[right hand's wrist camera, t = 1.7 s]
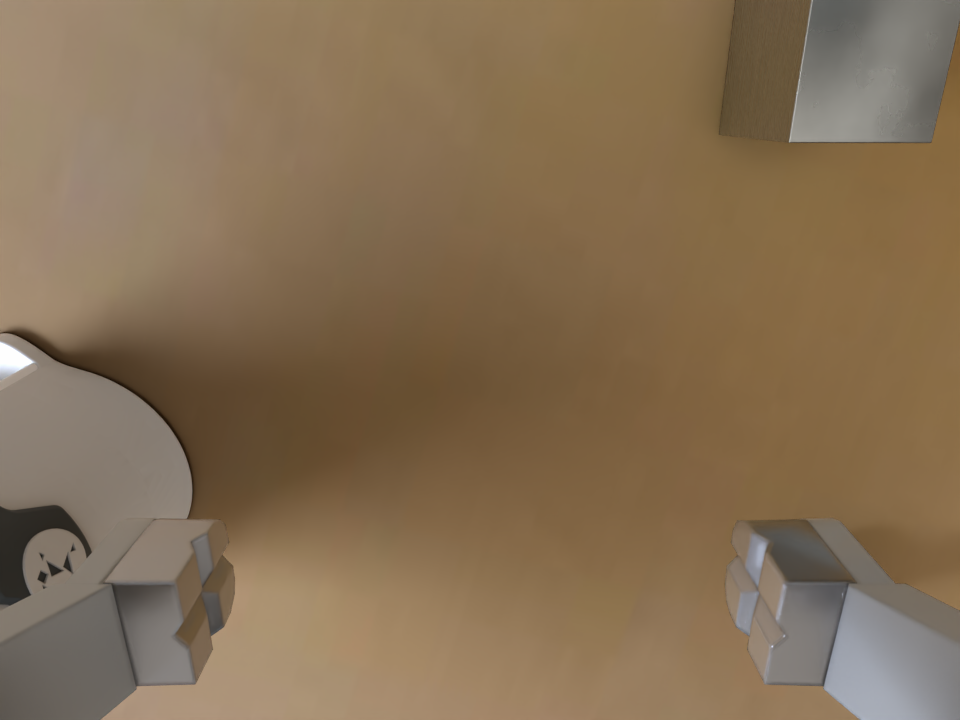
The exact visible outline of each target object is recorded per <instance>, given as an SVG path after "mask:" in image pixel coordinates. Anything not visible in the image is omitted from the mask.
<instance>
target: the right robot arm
mask: <svg viewBox="0 0 960 720" xmlns="http://www.w3.org/2000/svg"><path fill="white" fill-rule="evenodd" d="M191 502H192V478H191V473H190V468H189V465H188V461H187V459H186V456H185V453H184V451H183V449H182V447H181V445H180V443H179V441H178V440H177V438H176V436H175V435H174V433H173V432H172V430H171V429H170V427H169V426H168V425H167V424H166V422H165V421H164V420H163V419H162V418H161V417H160V416H159V415H158V413H157V412H156V411H154V410H153V409H152V408H151V407H150V406H149V405H148V404H147V403H146V402H144V401H143V400H142V399H140V398H139V397H138V396H136V395H135V394H134V393H132V392H131V391H129V390H127V389H126V388H124V387H122V386H121V385H119V384H117V383H115V382H113V381H111V380H109V379H106V378H104V377H102V376H99V375H96V374H93V373H90V372H87V371H84V370H80V369H77V368H73V367H70V366H67V365H64V364H62V363H60V362H57V361H55V360H53V359H52V358H51V357H49V356H48V355H47V354H45V353H44V352H42V351H41V350H39V349H38V348H37V347H35V346H34V345H32V344H31V343H29V342H27V341H26V340H24V339H22V338H20V337H18V336H16V335H13V334H8V333H2V334H0V720H101V719H102V718H103V717H104V716H105V715H106V714H108V713H109V712H110V711H111V710H112V709H114V708H115V707H116V706H117V705H118V704H120V703H121V702H122V701H123V700H124V699H126V698H127V697H128V696H129V695H130V694H131V693H133V692H134V691H135V690H136V686H156V685H191V684H196V682H197V680H198V678H199V676H200V674H201V672H202V670H203V668H204V666H205V664H206V662H207V660H208V658H209V656H210V654H211V652H212V650H213V646H212V640H211V636H212V635H213V634H215V633H216V632H218V631H219V630H220V629H222V628H223V627H224V626H225V624H226V622H227V619H228V617H229V615H230V613H231V609H232V604H233V600H234V595H235V576H234V569H233V565H232V564H231V563H230V562H229V561H228V560H227V559H226V558H225V557H224V556H223V555H222V554H223V553H224V551H225V549H226V547H227V546H228V544H229V539H228V534H227V529H226V525H225V524H224V523H223V522H222V521H221V520H218V519H187V517H188V515H189V511H190V507H191ZM731 544H732V546H733V547H734V549H735V551H736V553H737V554H738V555H737V556H736V557H735V558H734V559H733V560H732V561H731V562H730V563H729V564H728V565H727V570H726V578H725V592H726V602H727V605H728V609H729V612H730V615H731V617H732V620H733V622H734V624H735V626H736V627H737V628H738V629H740V630H741V631H742V632H744V633H745V634H747V635H748V636H749V640H748V646H747V650H748V652H749V654H750V656H751V658H752V660H753V662H754V664H755V666H756V668H757V670H758V672H759V674H760V676H761V678H762V680H763V682H764V684H768V685H803V686H824V688H823V689H824V690H825V691H826V692H828V693H829V694H830V695H831V696H832V697H834V698H835V699H836V700H837V701H838V702H840V703H841V704H842V705H843V706H844V707H845V708H847V709H848V710H849V711H850V712H851V713H853V714H854V715H855V716H856V717H857V718H859V719H860V720H960V611H959V610H957V609H955V608H953V607H951V606H949V605H947V604H945V603H943V602H941V601H939V600H937V599H935V598H933V597H931V596H929V595H927V594H925V593H923V592H921V591H919V590H917V589H915V588H913V587H911V586H909V585H907V584H895V583H894V581H893V580H892V579H891V578H890V577H889V576H888V575H887V573H886V572H885V571H884V570H883V569H882V568H881V567H880V566H879V564H878V563H877V562H876V561H875V560H874V559H873V558H872V557H871V555H870V554H869V553H868V552H867V551H866V550H865V549H864V547H863V546H862V545H861V544H860V543H859V542H858V541H857V540H856V538H855V537H854V536H853V535H852V534H851V533H850V532H849V530H848V529H847V528H846V527H845V526H844V525H843V524H842V523H841V522H840V521H839V520H836V519H834V518H809V519H793V520H737V522H736V524H735V526H734V528H733V533H732V538H731Z"/></svg>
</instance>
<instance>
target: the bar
mask: <svg viewBox="0 0 960 720" xmlns="http://www.w3.org/2000/svg"><path fill="white" fill-rule="evenodd" d="M959 22H960V0H736V1H735V9H734V17H733V25H732V33H731V41H730V49H729V57H728V65H727V74H726V82H725V90H724V98H723V106H722V114H721V122H720V130H719V135H725V136H734V137H742V138H751V139H760V140H769V141H778V142H787V143H931V142H932V138H933V134H934V130H935V125H936V121H937V117H938V112H939V108H940V104H941V99H942V95H943V91H944V87H945V82H946V78H947V74H948V69H949V65H950V61H951V57H952V52H953V48H954V44H955V39H956V35H957V31H958V27H959Z"/></svg>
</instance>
